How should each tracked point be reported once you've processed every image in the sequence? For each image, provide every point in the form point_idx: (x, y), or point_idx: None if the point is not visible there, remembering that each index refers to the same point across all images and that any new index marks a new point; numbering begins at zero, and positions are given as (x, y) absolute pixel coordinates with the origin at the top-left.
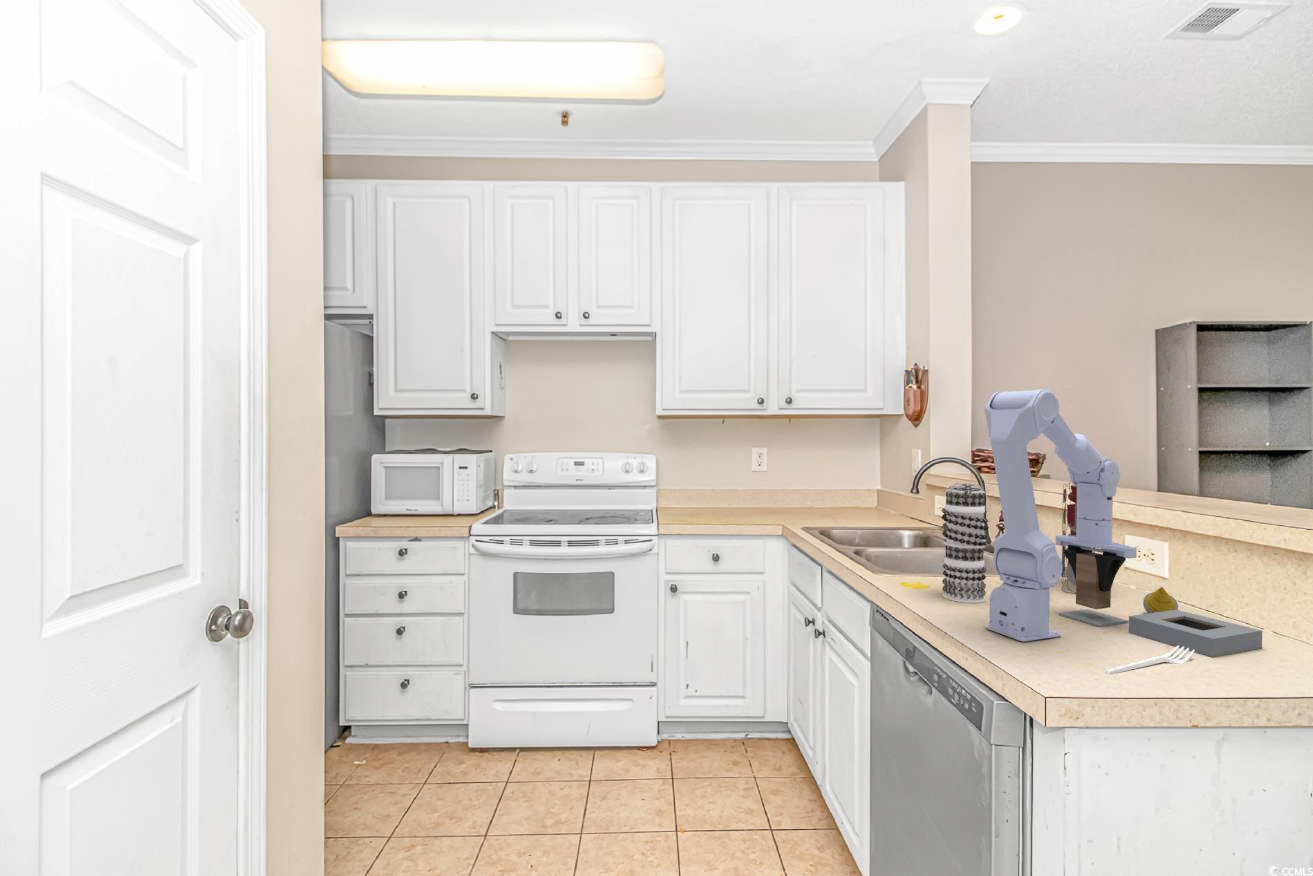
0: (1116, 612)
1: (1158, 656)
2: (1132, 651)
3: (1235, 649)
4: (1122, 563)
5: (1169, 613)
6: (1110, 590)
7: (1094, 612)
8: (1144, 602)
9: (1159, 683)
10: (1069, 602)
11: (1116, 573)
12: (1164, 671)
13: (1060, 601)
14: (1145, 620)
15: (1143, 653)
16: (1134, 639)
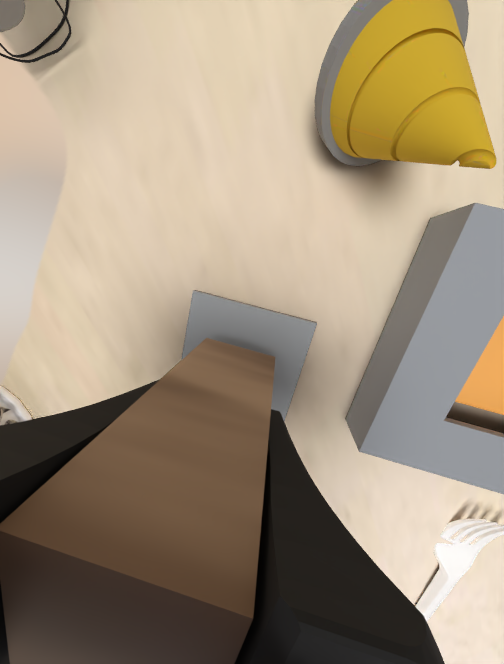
0: (249, 216)
1: (449, 584)
2: (388, 541)
3: None
4: (374, 570)
5: (458, 305)
6: (281, 415)
7: (221, 312)
8: (325, 125)
9: (458, 655)
10: (113, 221)
11: (311, 481)
12: (458, 606)
13: (95, 235)
14: (408, 463)
15: (408, 540)
16: (370, 462)
